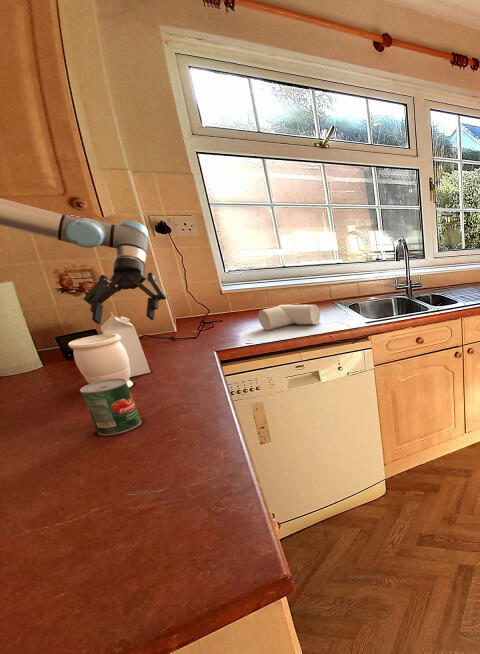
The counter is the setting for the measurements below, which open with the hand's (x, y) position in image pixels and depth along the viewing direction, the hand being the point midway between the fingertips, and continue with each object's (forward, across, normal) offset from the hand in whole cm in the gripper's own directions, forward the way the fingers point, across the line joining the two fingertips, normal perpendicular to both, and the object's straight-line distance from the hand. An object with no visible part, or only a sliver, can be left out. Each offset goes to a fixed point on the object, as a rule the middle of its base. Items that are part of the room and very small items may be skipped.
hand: (123, 319), depth 130 cm
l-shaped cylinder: (-15, -40, -38) cm, 58 cm away
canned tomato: (+43, -13, +20) cm, 50 cm away
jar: (+24, 0, +1) cm, 24 cm away
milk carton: (+15, 0, -8) cm, 17 cm away
